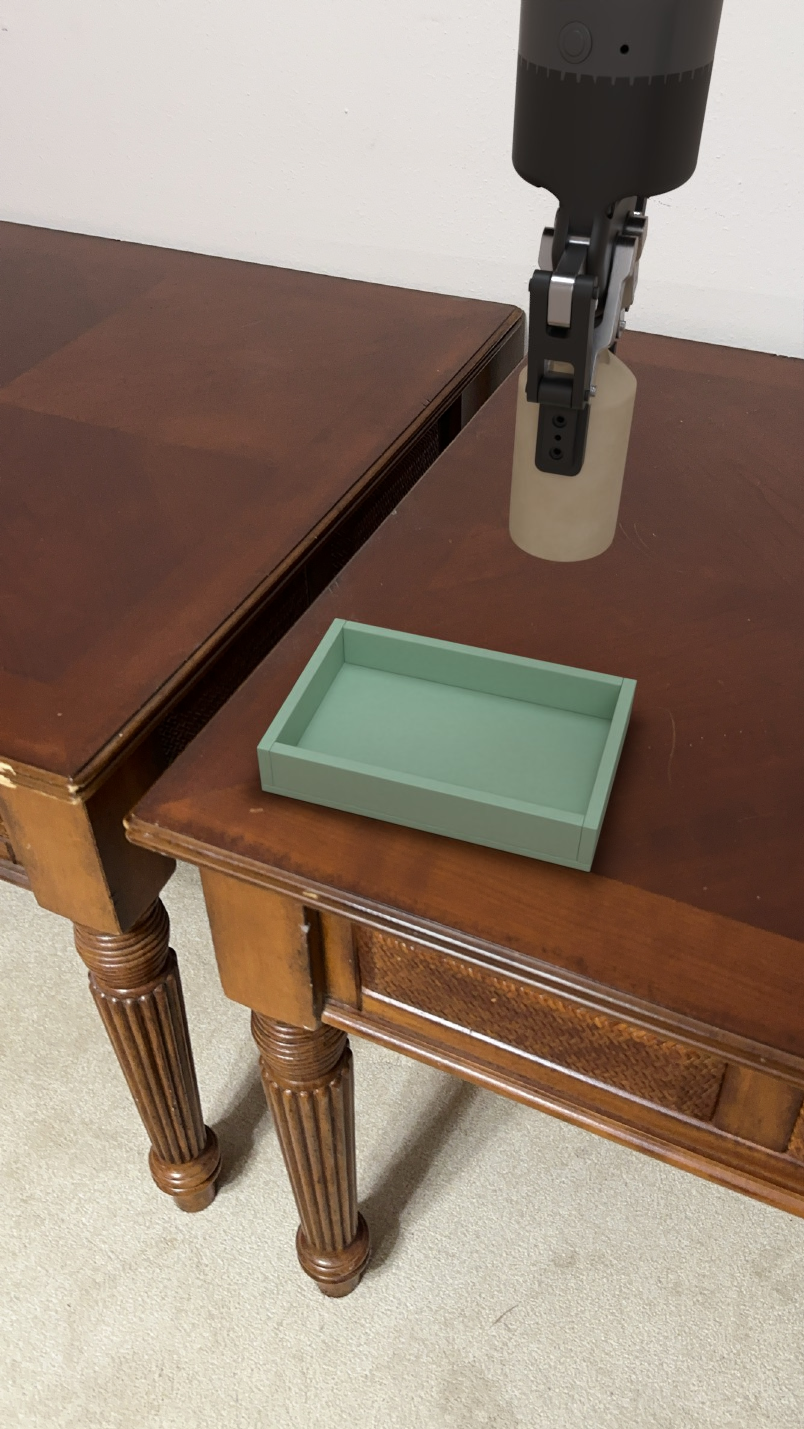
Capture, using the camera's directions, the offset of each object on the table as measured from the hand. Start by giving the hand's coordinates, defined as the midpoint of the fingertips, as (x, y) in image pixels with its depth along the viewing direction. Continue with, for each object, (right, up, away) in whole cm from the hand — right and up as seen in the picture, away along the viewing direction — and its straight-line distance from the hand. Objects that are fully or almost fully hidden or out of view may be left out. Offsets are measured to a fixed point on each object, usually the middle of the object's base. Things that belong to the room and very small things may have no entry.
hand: (572, 438), depth 54 cm
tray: (-5, -16, +13) cm, 22 cm away
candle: (0, -4, +4) cm, 6 cm away
